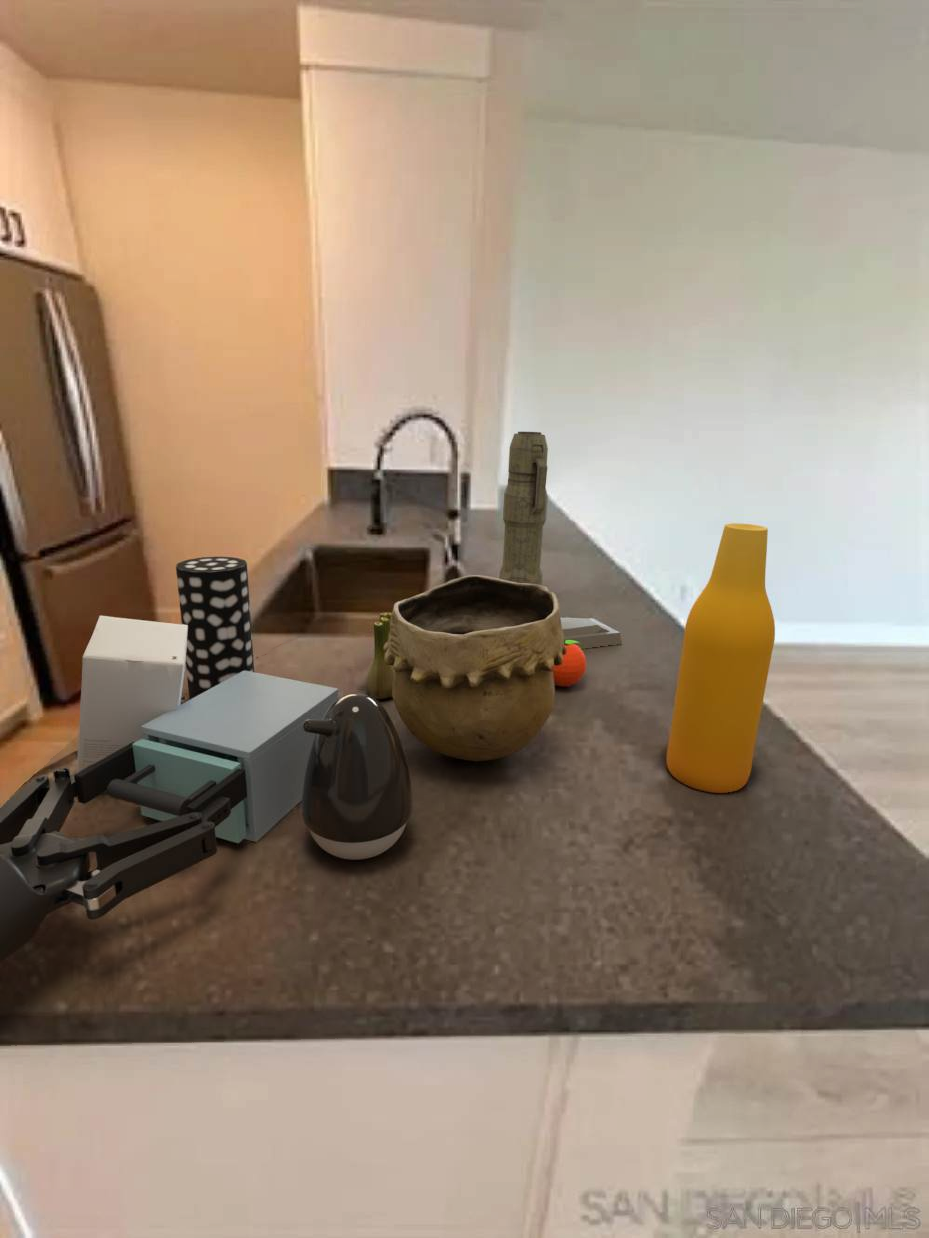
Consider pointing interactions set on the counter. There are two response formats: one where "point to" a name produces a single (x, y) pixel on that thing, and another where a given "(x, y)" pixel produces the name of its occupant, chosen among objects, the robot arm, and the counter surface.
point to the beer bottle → (724, 668)
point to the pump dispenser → (356, 780)
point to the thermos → (525, 508)
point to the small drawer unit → (254, 736)
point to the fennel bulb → (380, 662)
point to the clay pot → (475, 665)
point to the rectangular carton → (127, 682)
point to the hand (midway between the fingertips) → (188, 768)
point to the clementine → (570, 665)
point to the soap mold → (589, 632)
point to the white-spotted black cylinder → (215, 620)
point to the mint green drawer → (179, 782)
